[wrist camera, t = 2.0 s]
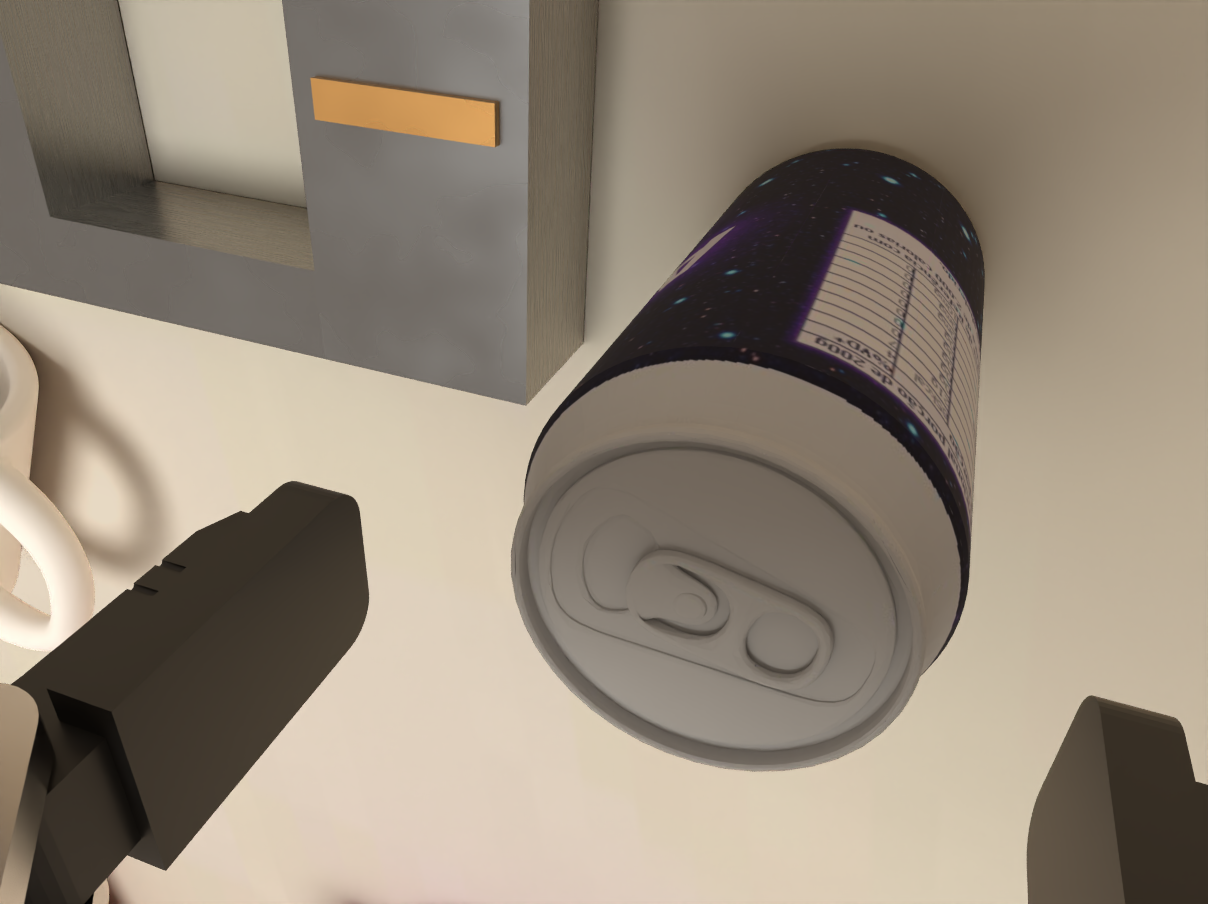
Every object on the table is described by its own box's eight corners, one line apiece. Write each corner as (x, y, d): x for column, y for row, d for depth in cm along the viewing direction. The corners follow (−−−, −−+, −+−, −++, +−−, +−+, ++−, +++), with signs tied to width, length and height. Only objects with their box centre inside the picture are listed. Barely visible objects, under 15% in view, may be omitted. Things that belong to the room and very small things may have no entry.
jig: (609, -248, 17) (526, -276, 14) (582, 343, 24) (522, 409, 21) (-112, -270, 22) (-287, -294, 19) (29, 227, 28) (-85, 267, 25)
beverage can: (766, 99, 19) (526, 316, 10) (1037, 193, 18) (1072, 538, 9) (688, 335, 22) (450, 673, 13) (914, 425, 22) (842, 861, 12)
